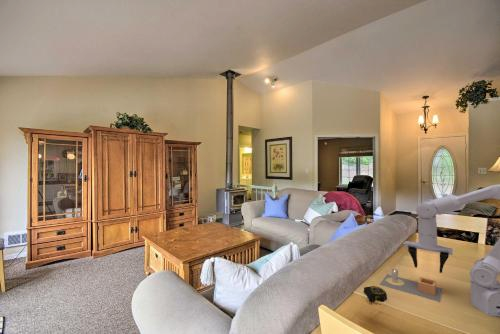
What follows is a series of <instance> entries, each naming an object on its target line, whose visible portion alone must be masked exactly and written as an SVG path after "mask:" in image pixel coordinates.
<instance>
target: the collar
mask: <svg viewBox="0 0 500 334" xmlns="http://www.w3.org/2000/svg"><path fill="white" fill-rule="evenodd" d="M417 282H418V291H419V292H422V293H426V294H429V295H433V296H435V294H436V287H437V281H436V280H432V279H429V278H424V277H419V279H418V280H417Z"/></svg>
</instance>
